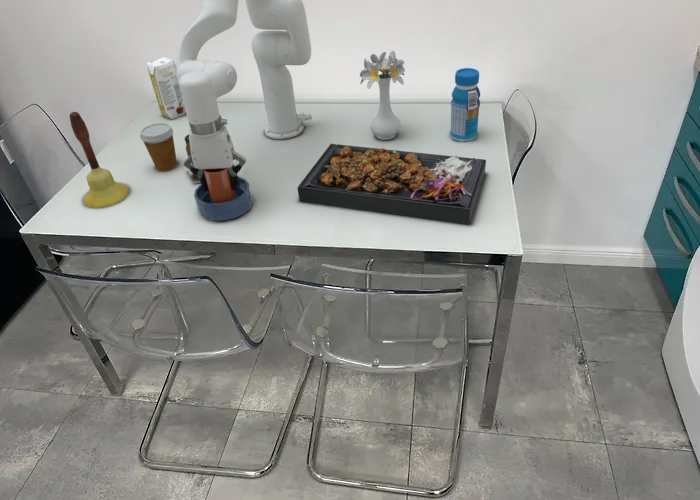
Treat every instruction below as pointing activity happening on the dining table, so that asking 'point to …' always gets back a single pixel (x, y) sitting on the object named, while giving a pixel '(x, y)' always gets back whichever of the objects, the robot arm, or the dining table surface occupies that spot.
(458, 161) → the food platter
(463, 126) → the beverage bottle
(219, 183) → the cup
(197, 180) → the condiment
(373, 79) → the flower vase
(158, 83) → the juice carton
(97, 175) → the handbell
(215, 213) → the bowl
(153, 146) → the disposable coffee cup
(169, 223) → the dining table surface
